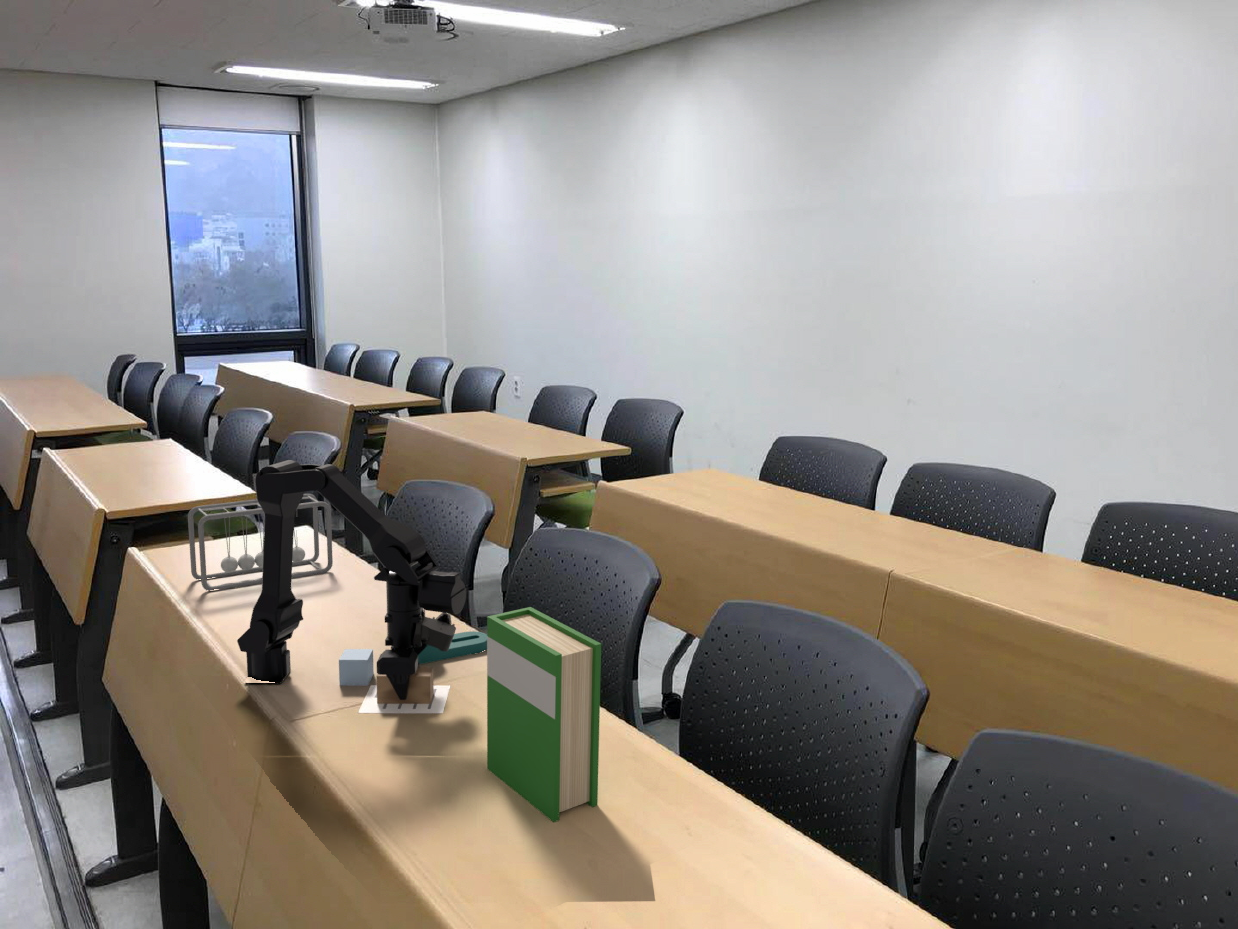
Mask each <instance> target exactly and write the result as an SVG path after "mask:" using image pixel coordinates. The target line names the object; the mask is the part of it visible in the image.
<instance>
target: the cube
mask: <svg viewBox="0 0 1238 929" xmlns="http://www.w3.org/2000/svg"><path fill="white" fill-rule="evenodd" d="M338 672H339V673H338V675H339V678H338V680H339V682H338V683H339V686H369V685H370V682H371V680H372V678H373V676H374V672H375V671H374V648H345V649H344V650H343V652H342V653H341V656H340V657H339V658H338Z"/></svg>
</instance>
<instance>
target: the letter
mask: <svg viewBox="0 0 1238 929" xmlns="http://www.w3.org/2000/svg"><path fill="white" fill-rule="evenodd" d="M450 688H451V685H435V684H434V694H433V698H432V701H431V704H377V684H375V685H372V684H371V685H370V687H369V689H368V691H367V693H366V695H365V697H364V699H363V702H362V704H361V705H360V708H359V710H358V712H357V713H358V714H443V713H444V709H445V707H446V702H447V699H448V696H449V693H450Z"/></svg>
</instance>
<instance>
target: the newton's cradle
mask: <svg viewBox="0 0 1238 929" xmlns="http://www.w3.org/2000/svg"><path fill="white" fill-rule="evenodd" d="M307 499H308V500H309V499H310V500H311V502H303V503H301V502H300V503H299V505H298V507H297V509H296V511H295V515H296V516H298V510H302V509H309V508H311V509H312V521H313V526H312V527H313V544H314V546H313V548H314V550H313V551H314V552H313V553H314V555H313V556H312V557H311V558H308V559H305V557H306V552H305V549H304V548H302V547H301V546H298V545H297V538H296V533H295V531H294V536H293V538H294V544H295V546H293V558H292V567H297V566H302V565H309V564H311V565H313V566H314V567H316V568H317V569H313V570H309V571H308V570H307V571H300V572H296V573H292V579H298V578H303V577H309V576H310V577H311V576H315V575H316V576H317V575H320V574H326V573H328V572H329V571H331V569H332V567H333V562H334V561H333V559H334V558H333V534H332V532H333V531H332V509H331V506H330V503H327V502H325V501H319V500H318V499H317V498H316V496H315V495H314V494H311V493H304V495H303V498H302V499H301V500H307ZM255 505H256V506H257V508H253V509H246V508H244V507H247V506H248V507H249V506H255ZM238 507H239V508H240V509H241V510H237V511H236V510H235V511H228V510H227V509H230V508H238ZM259 507H260V508H259ZM318 507H323V508H324V509H325V518H326V519H325V520H326V546H327V547H326V548H327V549H326V550H327V565H326V567H324V568H321V567H320V566H319V565H317V563H315V562H316V561H318V559H319V557H320V542H319V541H320V538H319V512H318V511H319V510H318V509H319V508H318ZM222 509H223V512H218V513H209V514H208V513H206V511H212V510H215V511H216V510H222ZM242 509H243V510H242ZM204 511H205V512H204ZM225 511H226V512H225ZM196 512H200V513H201V514H203V515H204V516H202V517H201V518H200V520H199V521H198V524H197V530H198V531H197V532H198V546H199V547H198V548H199V564H200V574H198V572H197V571H198V570H197V559H196V558H197V557H196V542H195V525H194V515H195V513H196ZM261 514H262V515H263V516H262V520H263V521H262V531H261V530H259V535H260V546H261V548H262V549H261V551H259V552H257V554H256V555H255V557H254V556H253V555H252V554H249V553H248V548H247V547H248V516H251V515H253V516H254V515H258V518H257V519H260V515H261ZM243 516H245V517H246V518H245V519H246V522H245V527H246V528H245V529H246V530H245V532H246V533H245V532H244V524H243ZM236 517H240V518H241V526H242V535H243V538H245V539H243V544H244V548H245V549H244V554H241V555H240V556H239V558H238V560H237V559H236V558H235V556H234V557H233V556H231V551H230V550H231V547H230V546H231V545H230V544H231V540H230V539H231V534H230V533H231V529H230V528H231V523H230V521H231V518H236ZM227 518H228V534H227V532H225V538H226V547H227V548H226V549H227V550H228V551H227V556H226V557H224V558H223V559H222V560H221V561H220V569H221V570H222V571H224V572H218V573H210V574H207V565H206V564H207V563H206V546H205V545H206V544H205V531H204V530H205V528H204V527H205V526H204V525H205V524H206V522H207V521H212V520H220V519H224V521H226V519H227ZM260 523H261V521H260V520H258V526H259V527H258V528H259V529H261V524H260ZM264 523H265V514H264V511H263V509H262V508H261V506H260V504H259V502H258V500H257V499H249V500H241V501H232V502H231V501H230V502H223V503H213V504H204V505H197V506H194V507H193V508H191V509H190V510H189V512H188V513H187V524H188V525H187V526H188V527H187V528H188V539H189V543H188V544H189V556H190V570H191V571H190V572H191V573H190V574H191V576H192V577H193V578H194V579H195V580H197V579H201V580H200V582H201V586H202V588H203V589H204V590H205V591H207V590H214V589H224V590H229V589H228V588H230V589H235V587H237V588H241V587H242V586H243V587H248V586H253V585H259V584H260V585H262V578H257V579H251V580H245V581H239V582H231V583H225V584H219V585H213V586H212V585H211V584H210V583H209V582H208V579H207V578H212V577H220V578H224V577H225V578H227V577H233V576H237V575H238V576H239V575H247V574H250V573H251V574H252V573H258V572H263V548H264ZM224 527H225V531H227V525H226V522H224ZM244 533H245V534H244ZM245 535H246V536H245ZM255 565H256V566H257V567H254V566H255ZM238 567H239V568H240V569H238Z"/></svg>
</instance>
